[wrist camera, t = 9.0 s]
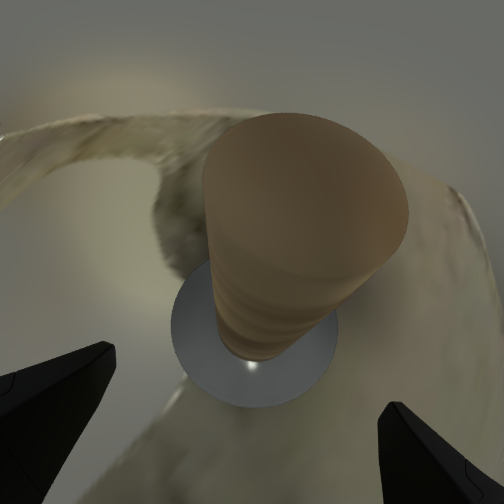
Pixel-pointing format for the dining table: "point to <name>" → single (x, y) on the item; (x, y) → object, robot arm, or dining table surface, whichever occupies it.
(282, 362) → the grey round bowl
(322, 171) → the oak pillar
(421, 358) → the dining table surface
